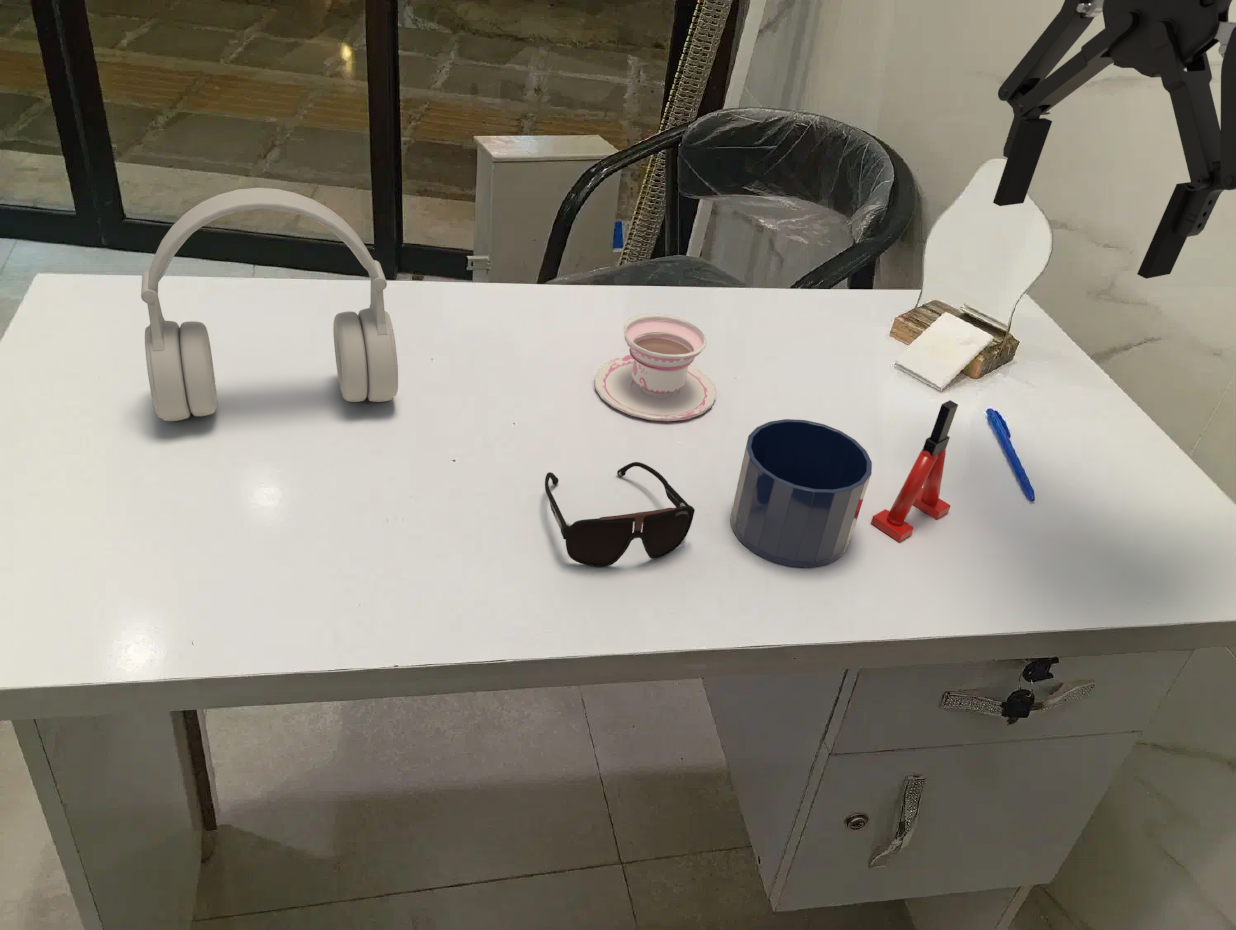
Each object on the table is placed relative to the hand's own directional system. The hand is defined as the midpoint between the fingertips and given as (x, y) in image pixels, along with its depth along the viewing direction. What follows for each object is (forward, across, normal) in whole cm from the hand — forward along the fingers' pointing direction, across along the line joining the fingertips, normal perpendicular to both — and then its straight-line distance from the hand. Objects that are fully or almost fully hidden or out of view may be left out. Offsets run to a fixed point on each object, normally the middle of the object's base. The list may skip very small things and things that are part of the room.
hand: (1076, 237), depth 75 cm
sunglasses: (+25, -9, -32) cm, 42 cm away
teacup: (+24, -25, -18) cm, 40 cm away
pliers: (+24, 0, -8) cm, 26 cm away
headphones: (+24, -34, -52) cm, 67 cm away
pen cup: (+24, -3, -19) cm, 31 cm away
